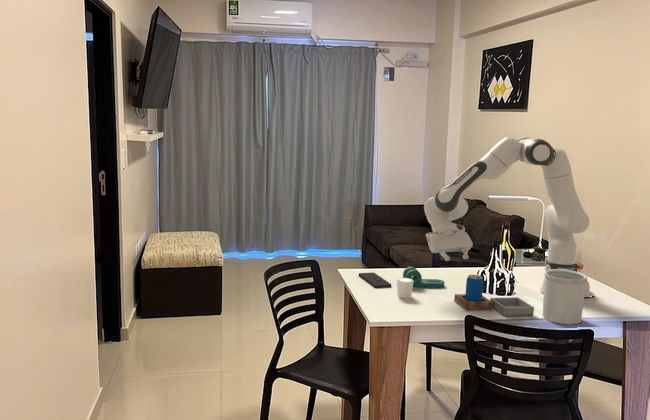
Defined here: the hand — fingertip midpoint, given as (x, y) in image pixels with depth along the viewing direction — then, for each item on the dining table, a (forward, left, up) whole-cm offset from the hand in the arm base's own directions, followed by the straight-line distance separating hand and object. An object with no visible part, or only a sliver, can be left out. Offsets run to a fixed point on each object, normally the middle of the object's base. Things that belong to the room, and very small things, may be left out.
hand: (457, 259), depth 237 cm
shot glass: (+21, -3, -16) cm, 27 cm away
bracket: (+7, -17, -17) cm, 25 cm away
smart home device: (+28, -25, -17) cm, 41 cm away
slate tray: (-15, +19, -16) cm, 29 cm away
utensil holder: (-31, +28, -16) cm, 45 cm away
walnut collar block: (-3, +11, -16) cm, 20 cm away
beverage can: (-3, +11, -16) cm, 20 cm away
